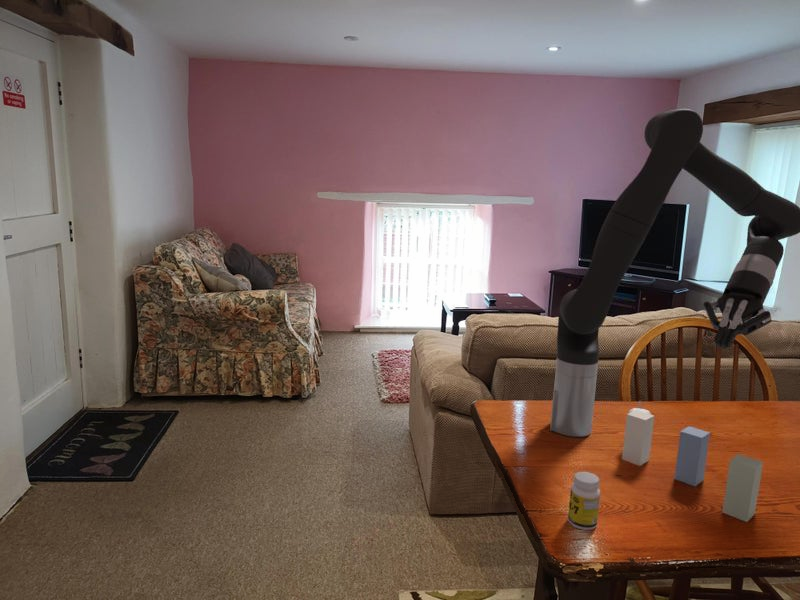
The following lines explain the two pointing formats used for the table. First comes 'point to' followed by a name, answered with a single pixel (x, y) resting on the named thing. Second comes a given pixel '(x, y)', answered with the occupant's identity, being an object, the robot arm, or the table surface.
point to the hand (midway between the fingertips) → (721, 346)
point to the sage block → (742, 487)
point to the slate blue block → (692, 455)
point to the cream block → (638, 437)
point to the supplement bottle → (584, 501)
